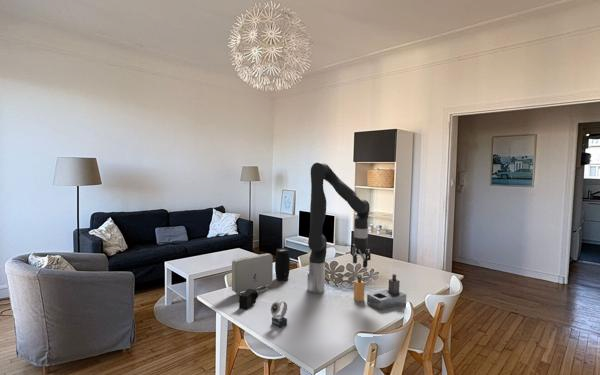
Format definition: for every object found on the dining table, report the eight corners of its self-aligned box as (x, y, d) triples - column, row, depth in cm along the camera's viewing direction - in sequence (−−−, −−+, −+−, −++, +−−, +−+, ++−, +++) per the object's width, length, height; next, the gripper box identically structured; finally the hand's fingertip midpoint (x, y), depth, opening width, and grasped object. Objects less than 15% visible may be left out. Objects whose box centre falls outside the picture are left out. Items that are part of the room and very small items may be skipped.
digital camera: (248, 310, 166) (248, 296, 165) (239, 308, 168) (239, 295, 167) (258, 302, 175) (258, 289, 175) (248, 301, 177) (249, 288, 177)
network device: (237, 298, 181) (237, 262, 180) (229, 293, 187) (229, 258, 186) (274, 287, 198) (275, 254, 196) (266, 283, 204) (266, 251, 203)
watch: (268, 325, 150) (268, 301, 150) (281, 319, 156) (282, 297, 155) (276, 329, 146) (276, 305, 146) (289, 324, 152) (290, 300, 151)
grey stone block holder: (379, 310, 169) (380, 300, 168) (367, 303, 177) (367, 293, 177) (406, 303, 178) (406, 294, 177) (392, 297, 186) (392, 288, 186)
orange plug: (358, 301, 180) (359, 277, 179) (353, 298, 183) (354, 275, 182) (364, 300, 182) (364, 276, 181) (359, 297, 185) (360, 274, 184)
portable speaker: (289, 281, 209) (290, 251, 208) (274, 281, 208) (275, 251, 207) (289, 276, 217) (289, 247, 216) (274, 277, 217) (275, 247, 215)
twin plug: (393, 300, 177) (394, 276, 176) (388, 297, 181) (388, 274, 180) (398, 298, 179) (399, 275, 178) (393, 296, 183) (394, 273, 182)
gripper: (347, 234, 185) (346, 262, 186) (363, 239, 172) (362, 269, 173) (357, 233, 188) (357, 261, 189) (374, 238, 176) (373, 268, 177)
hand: (359, 265), depth 181 cm, fingers open, 8 cm apart
